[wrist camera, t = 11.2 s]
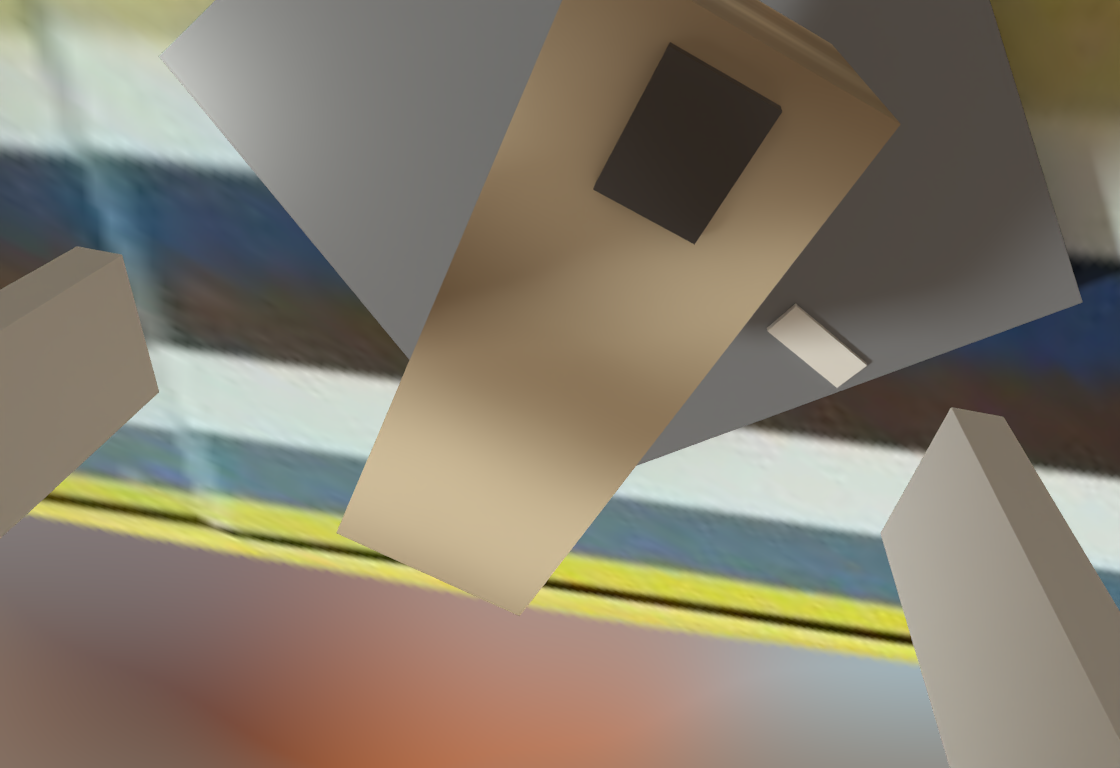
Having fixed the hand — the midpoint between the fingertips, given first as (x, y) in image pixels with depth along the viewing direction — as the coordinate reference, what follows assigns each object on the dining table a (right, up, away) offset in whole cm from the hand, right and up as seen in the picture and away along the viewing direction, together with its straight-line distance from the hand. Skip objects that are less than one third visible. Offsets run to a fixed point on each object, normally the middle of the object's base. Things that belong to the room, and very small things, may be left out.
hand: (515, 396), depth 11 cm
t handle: (+1, +4, +5) cm, 7 cm away
